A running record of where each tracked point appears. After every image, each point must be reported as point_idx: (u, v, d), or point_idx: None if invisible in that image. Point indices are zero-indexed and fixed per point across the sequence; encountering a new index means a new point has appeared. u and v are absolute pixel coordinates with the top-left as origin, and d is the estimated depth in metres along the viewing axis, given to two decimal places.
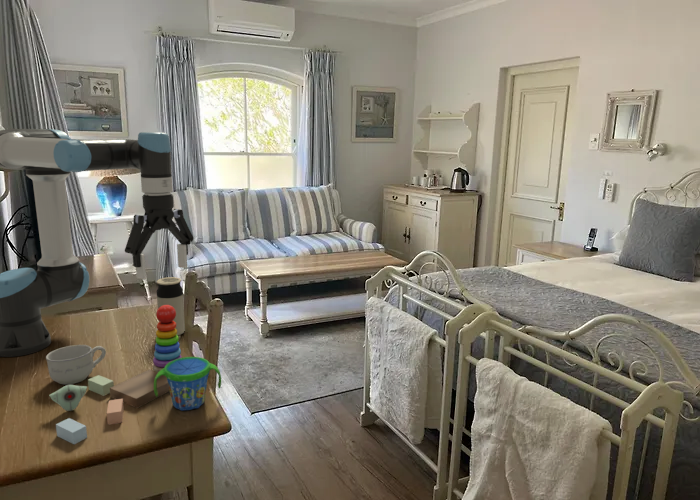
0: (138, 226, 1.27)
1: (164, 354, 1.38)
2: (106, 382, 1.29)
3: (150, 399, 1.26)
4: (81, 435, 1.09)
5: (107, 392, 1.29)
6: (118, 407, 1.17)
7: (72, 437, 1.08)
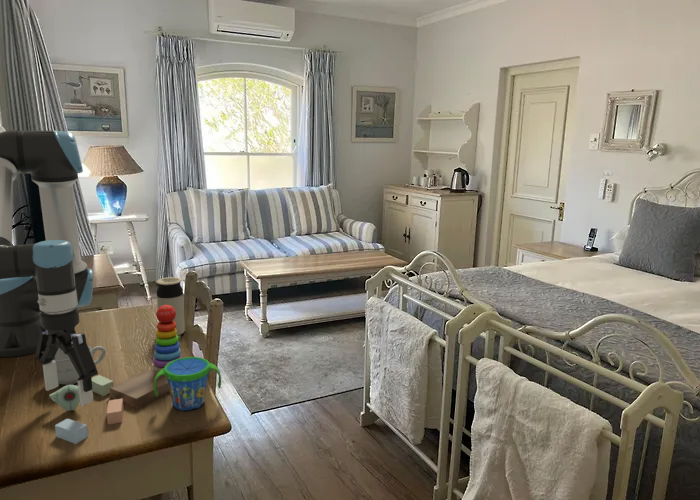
0: None
1: (164, 354, 1.38)
2: (106, 382, 1.29)
3: (150, 399, 1.26)
4: (82, 434, 1.10)
5: (107, 392, 1.29)
6: (118, 407, 1.17)
7: (73, 437, 1.08)
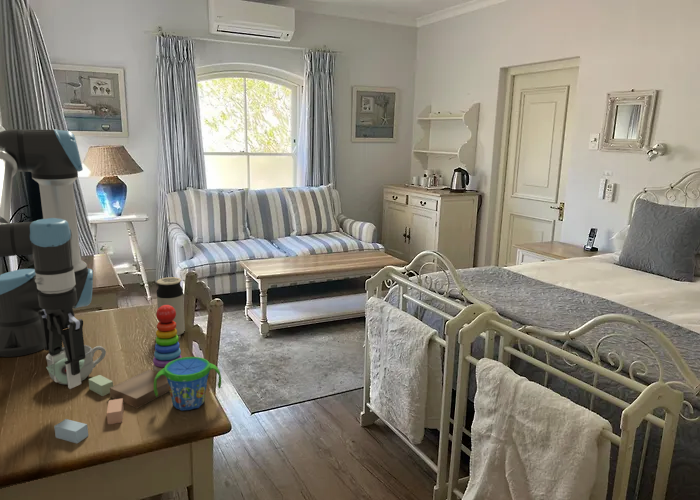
0: None
1: (164, 354, 1.38)
2: (105, 382, 1.29)
3: (150, 399, 1.26)
4: (83, 434, 1.10)
5: (106, 392, 1.28)
6: (118, 407, 1.18)
7: (75, 436, 1.08)
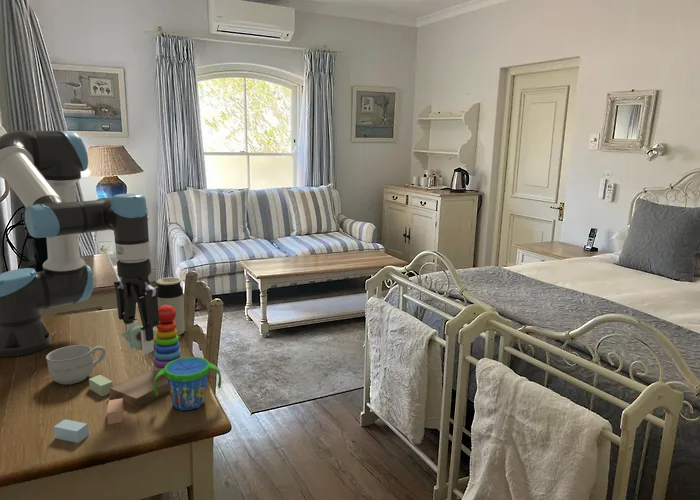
0: None
1: (164, 354, 1.38)
2: (105, 382, 1.29)
3: (150, 399, 1.26)
4: (84, 433, 1.10)
5: (106, 392, 1.28)
6: (118, 407, 1.18)
7: (76, 436, 1.08)
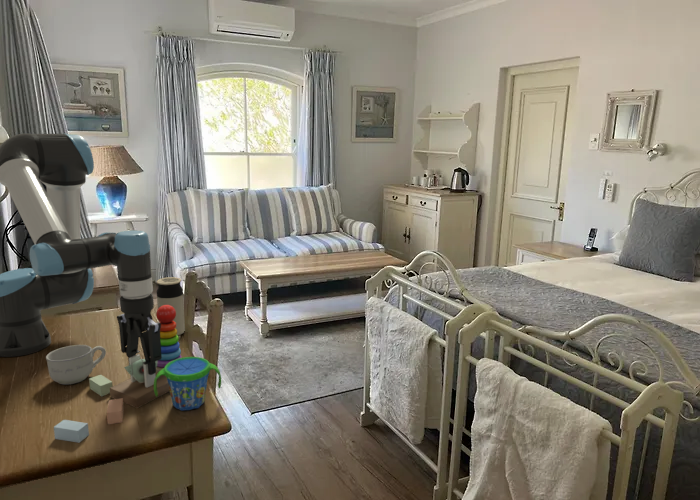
0: None
1: (164, 354, 1.38)
2: (105, 383, 1.29)
3: (150, 399, 1.26)
4: (84, 433, 1.10)
5: (105, 393, 1.28)
6: (118, 407, 1.18)
7: (77, 435, 1.08)
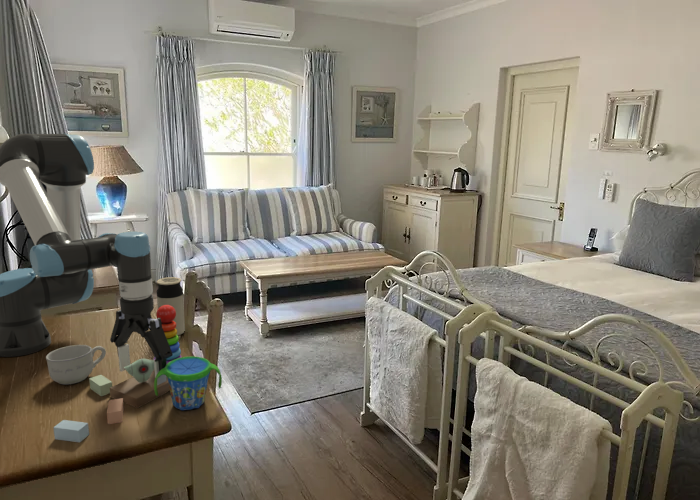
0: None
1: None
2: (104, 383, 1.28)
3: (150, 399, 1.26)
4: (85, 432, 1.10)
5: (105, 393, 1.28)
6: (118, 407, 1.18)
7: (77, 435, 1.09)
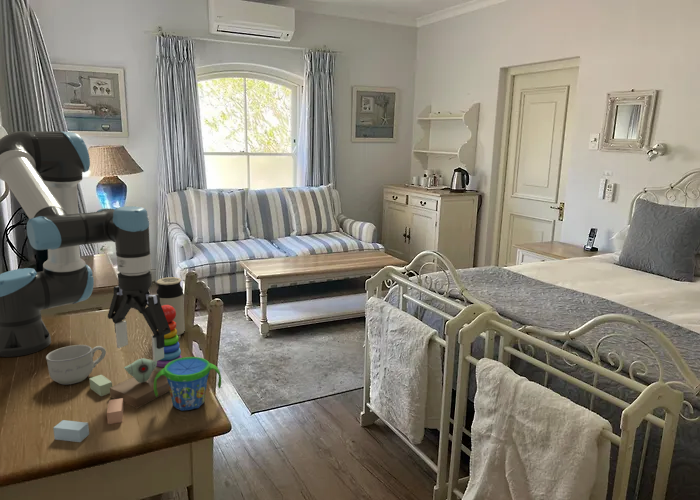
0: None
1: (164, 354, 1.38)
2: (104, 383, 1.28)
3: (150, 399, 1.26)
4: (85, 432, 1.10)
5: (105, 393, 1.28)
6: (118, 407, 1.18)
7: (78, 435, 1.09)
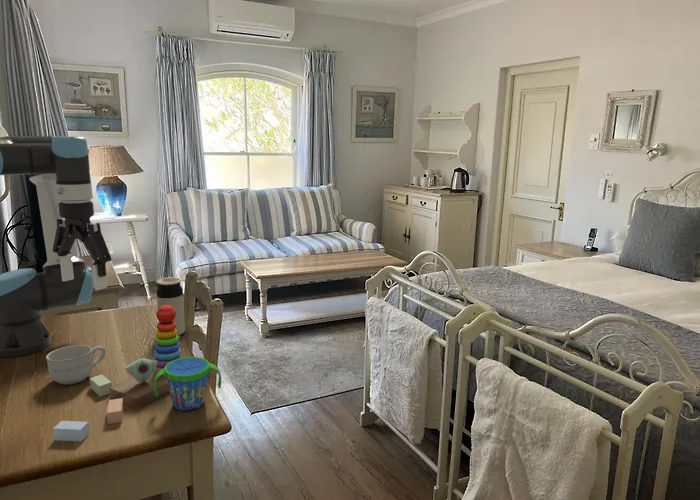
0: None
1: (164, 354, 1.38)
2: (104, 383, 1.28)
3: (150, 399, 1.26)
4: (85, 431, 1.11)
5: (104, 393, 1.28)
6: (118, 406, 1.18)
7: (79, 434, 1.09)
